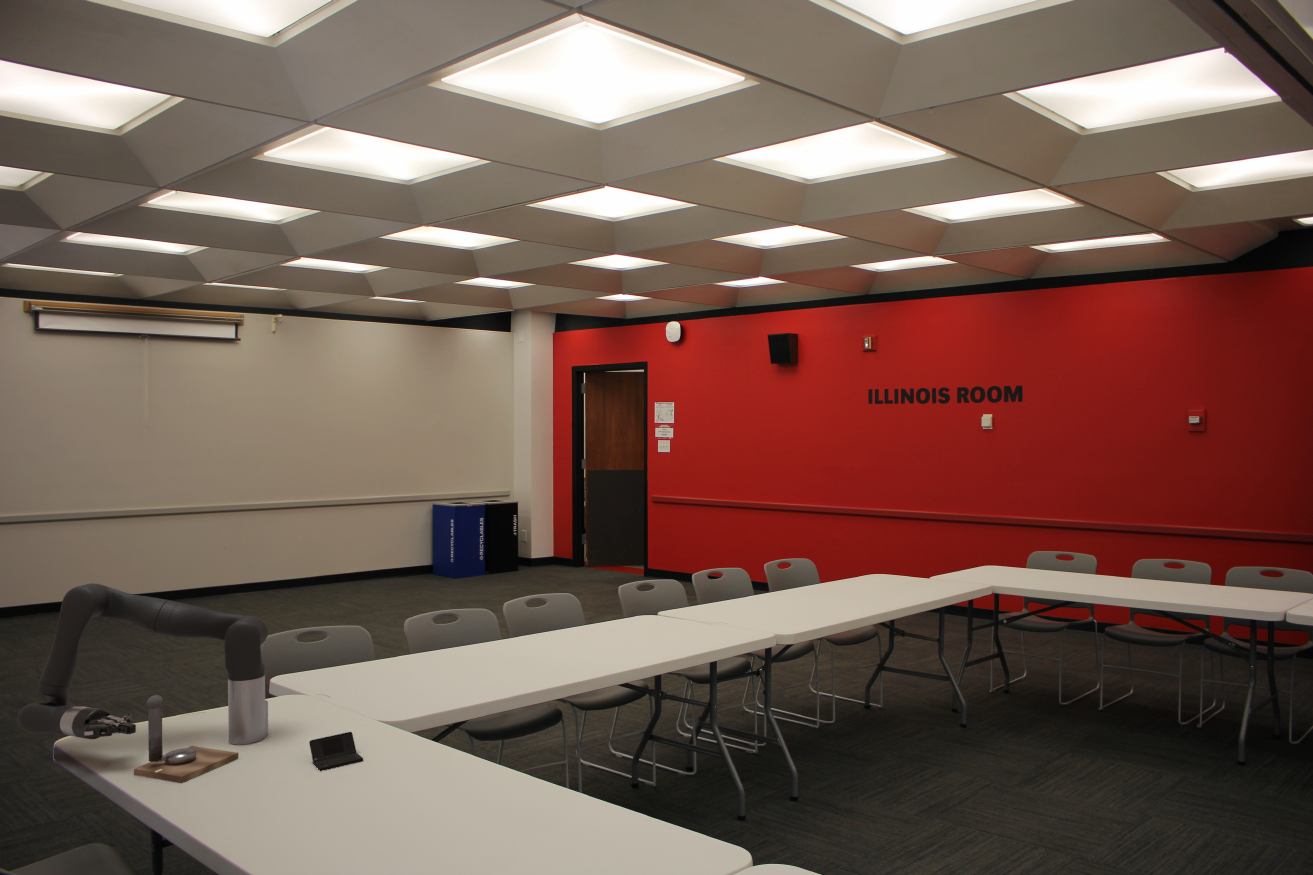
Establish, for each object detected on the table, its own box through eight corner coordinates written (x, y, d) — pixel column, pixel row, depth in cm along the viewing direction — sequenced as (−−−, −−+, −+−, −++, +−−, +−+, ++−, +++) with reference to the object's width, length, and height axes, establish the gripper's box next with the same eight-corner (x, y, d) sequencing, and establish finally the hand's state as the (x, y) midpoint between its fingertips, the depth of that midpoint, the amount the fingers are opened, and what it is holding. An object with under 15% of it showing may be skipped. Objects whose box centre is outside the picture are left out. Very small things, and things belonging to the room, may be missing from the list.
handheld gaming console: (324, 767, 214) (317, 728, 219) (311, 779, 217) (305, 741, 222) (367, 761, 222) (359, 724, 227) (354, 773, 225) (347, 736, 230)
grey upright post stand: (194, 751, 224) (193, 686, 224) (198, 759, 218) (197, 692, 218) (146, 760, 218) (145, 693, 218) (148, 769, 212) (147, 699, 212)
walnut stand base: (192, 751, 230) (192, 744, 230) (238, 758, 224) (238, 751, 224) (133, 774, 214) (133, 767, 214) (181, 782, 209) (181, 775, 209)
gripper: (59, 715, 218) (108, 722, 212) (109, 700, 230) (156, 706, 224) (59, 745, 218) (108, 753, 212) (109, 728, 230) (156, 735, 224)
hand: (133, 729), depth 218 cm, fingers closed
